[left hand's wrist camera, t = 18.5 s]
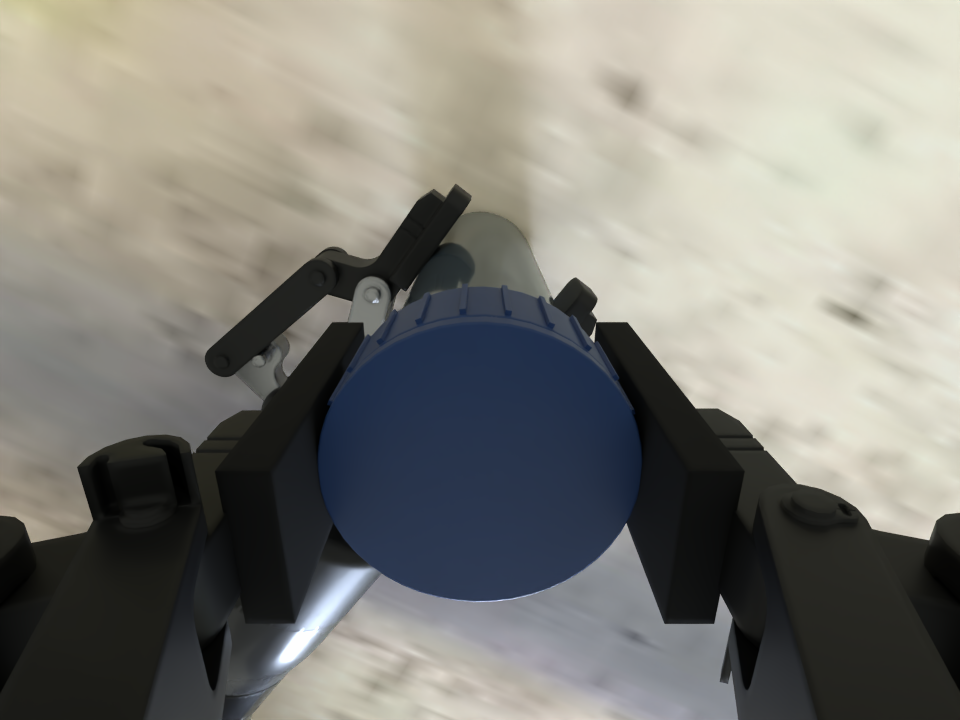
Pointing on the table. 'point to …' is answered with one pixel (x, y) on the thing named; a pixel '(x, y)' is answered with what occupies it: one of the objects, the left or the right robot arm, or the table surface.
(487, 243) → the bottle
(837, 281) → the table surface
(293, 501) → the left robot arm
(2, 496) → the table surface
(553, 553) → the lid
